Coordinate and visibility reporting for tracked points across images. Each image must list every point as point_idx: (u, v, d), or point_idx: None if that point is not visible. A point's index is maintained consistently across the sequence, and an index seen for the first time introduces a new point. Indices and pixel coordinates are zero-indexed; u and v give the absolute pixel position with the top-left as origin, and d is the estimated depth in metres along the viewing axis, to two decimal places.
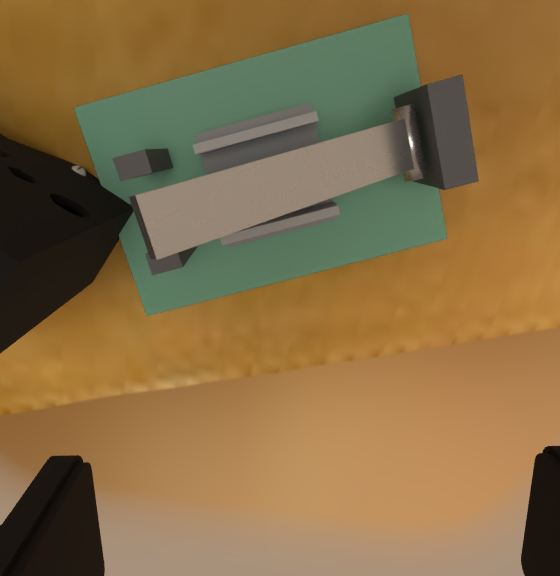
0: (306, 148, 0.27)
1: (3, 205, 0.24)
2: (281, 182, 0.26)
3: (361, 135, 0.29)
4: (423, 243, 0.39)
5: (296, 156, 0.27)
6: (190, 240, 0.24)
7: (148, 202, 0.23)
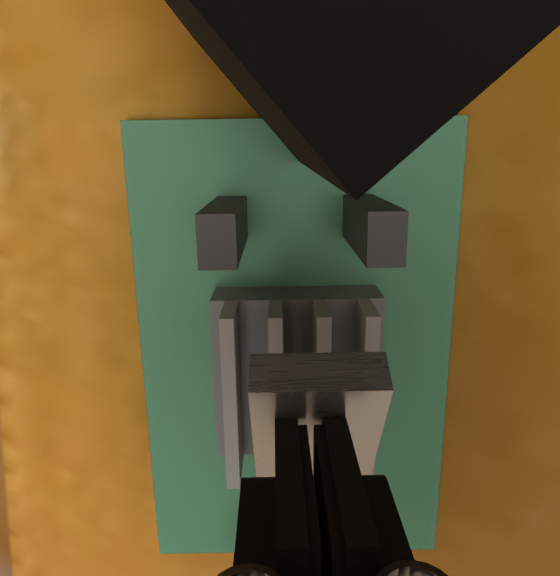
0: None
1: None
2: None
3: None
4: (159, 526, 0.29)
5: None
6: (266, 435, 0.12)
7: (369, 403, 0.11)
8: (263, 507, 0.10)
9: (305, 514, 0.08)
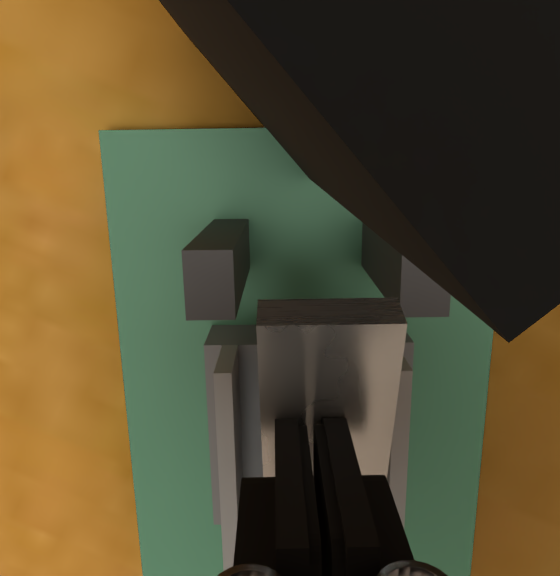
0: None
1: None
2: None
3: None
4: None
5: None
6: (275, 395, 0.11)
7: (382, 343, 0.10)
8: (264, 506, 0.10)
9: (305, 514, 0.08)
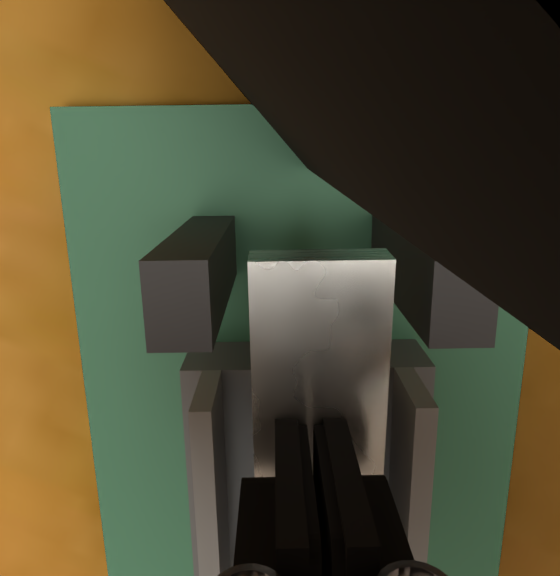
0: None
1: None
2: None
3: None
4: None
5: None
6: (265, 344, 0.11)
7: (372, 282, 0.10)
8: (263, 506, 0.10)
9: (305, 514, 0.08)
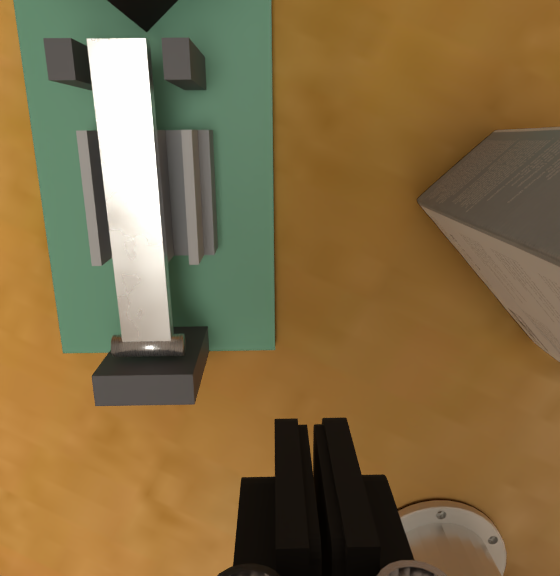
0: (159, 222, 0.29)
1: None
2: (132, 187, 0.29)
3: (162, 286, 0.31)
4: (61, 330, 0.38)
5: (153, 209, 0.29)
6: (97, 77, 0.27)
7: (137, 48, 0.26)
8: (264, 506, 0.10)
9: (305, 514, 0.08)
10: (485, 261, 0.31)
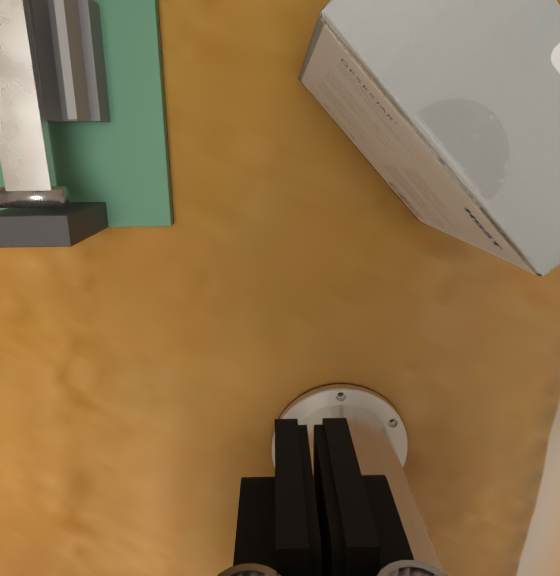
0: (31, 68, 0.32)
1: None
2: (4, 33, 0.31)
3: (38, 134, 0.33)
4: None
5: (25, 55, 0.32)
6: None
7: None
8: (264, 506, 0.10)
9: (305, 514, 0.08)
10: (341, 111, 0.33)
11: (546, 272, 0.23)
